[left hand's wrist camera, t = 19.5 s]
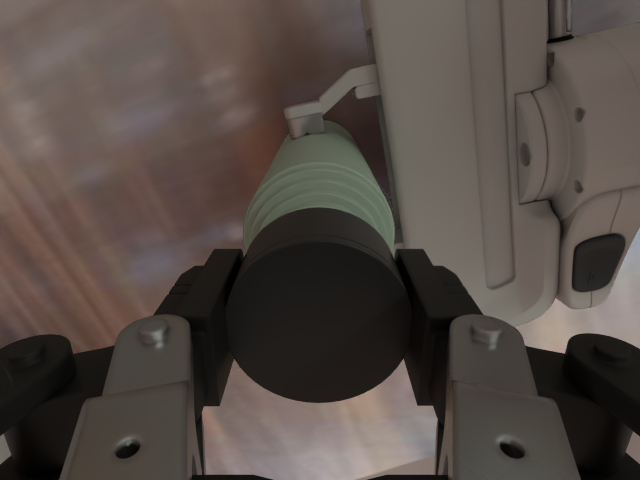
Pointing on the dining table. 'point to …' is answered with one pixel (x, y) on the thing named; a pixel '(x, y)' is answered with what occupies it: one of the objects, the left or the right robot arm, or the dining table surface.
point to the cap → (318, 307)
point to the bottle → (319, 183)
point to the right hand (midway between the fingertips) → (302, 188)
